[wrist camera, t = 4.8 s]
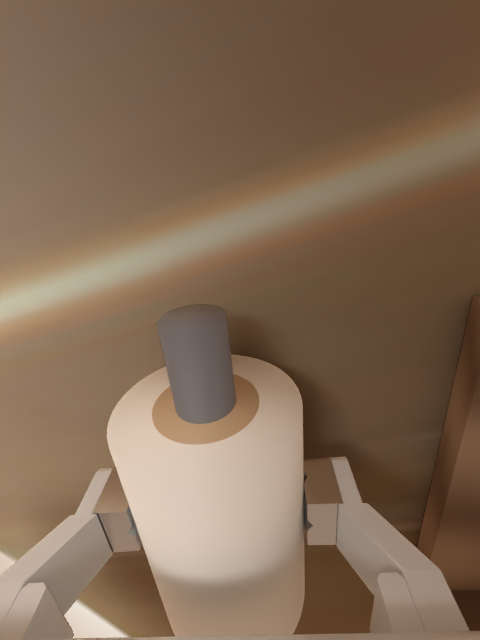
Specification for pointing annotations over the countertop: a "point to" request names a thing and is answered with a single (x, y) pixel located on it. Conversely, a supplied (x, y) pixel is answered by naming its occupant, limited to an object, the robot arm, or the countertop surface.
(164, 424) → the paper roll
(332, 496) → the robot arm
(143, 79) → the countertop surface
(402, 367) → the countertop surface
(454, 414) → the roll holder
